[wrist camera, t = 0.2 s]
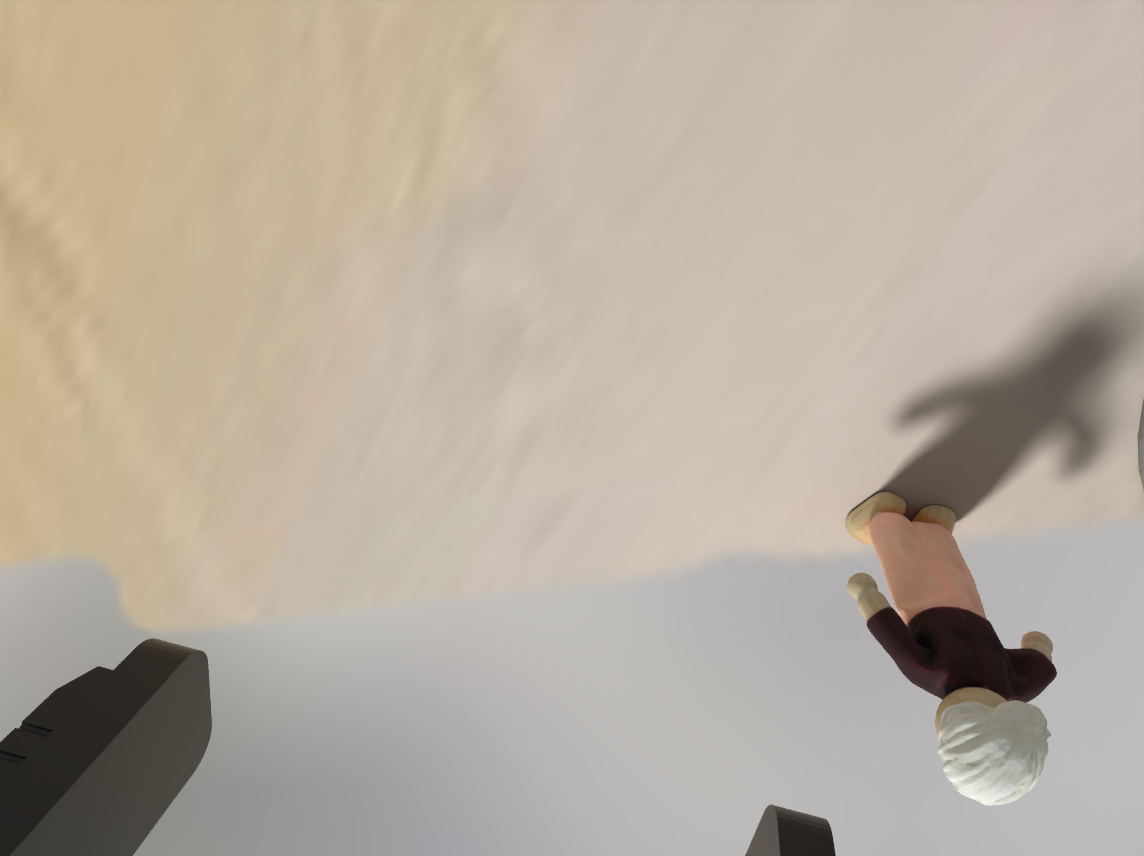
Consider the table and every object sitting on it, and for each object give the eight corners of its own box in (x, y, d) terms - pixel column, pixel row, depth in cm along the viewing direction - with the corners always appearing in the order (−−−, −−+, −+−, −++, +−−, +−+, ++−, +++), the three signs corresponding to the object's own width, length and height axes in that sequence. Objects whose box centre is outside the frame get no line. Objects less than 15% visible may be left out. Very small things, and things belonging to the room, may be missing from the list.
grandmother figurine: (813, 546, 35) (856, 808, 24) (834, 479, 33) (891, 732, 22) (989, 572, 34) (1114, 854, 23) (1021, 504, 32) (1174, 779, 21)
